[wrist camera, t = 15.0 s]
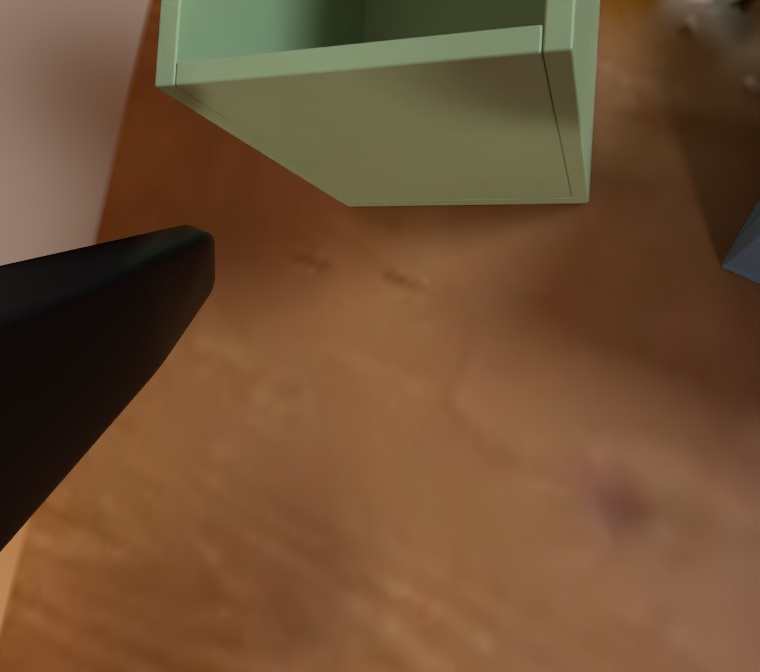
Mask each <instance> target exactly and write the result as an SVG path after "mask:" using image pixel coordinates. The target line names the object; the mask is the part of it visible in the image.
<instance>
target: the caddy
mask: <svg viewBox="0 0 760 672" xmlns="http://www.w3.org/2000/svg"><path fill="white" fill-rule="evenodd" d="M599 15H600V0H161V9H160V22H159V36H158V50H157V63H156V77H155V86H156V88H158V89H160V90H161V91H163V92H164V93H166V94H168V95H169V96H171V97H172V98H174V99H176V100H177V101H179V102H180V103H182V104H184V105H185V106H187V107H188V108H190V109H192V110H193V111H195V112H197V113H198V114H200V115H201V116H203V117H205V118H206V119H208V120H209V121H211V122H213V123H214V124H216V125H217V126H219V127H221V128H222V129H224V130H225V131H227V132H229V133H230V134H232V135H234V136H235V137H237V138H238V139H240V140H242V141H243V142H245V143H246V144H248V145H250V146H251V147H253V148H254V149H256V150H258V151H259V152H261V153H262V154H264V155H266V156H267V157H269V158H270V159H272V160H274V161H275V162H277V163H279V164H280V165H282V166H283V167H285V168H287V169H288V170H290V171H291V172H293V173H295V174H296V175H298V176H299V177H301V178H303V179H304V180H306V181H307V182H309V183H311V184H312V185H314V186H316V187H317V188H319V189H320V190H322V191H324V192H325V193H327V194H328V195H330V196H332V197H333V198H335V199H336V200H338V201H340V202H342V203H344V204H345V205H347V206H349V207H354V206H421V205H489V204H557V203H587V202H589V195H590V177H591V159H592V141H593V123H594V105H595V87H596V69H597V51H598V33H599Z"/></svg>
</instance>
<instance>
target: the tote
mask: <svg viewBox="0 0 760 672" xmlns="http://www.w3.org/2000/svg"><path fill="white" fill-rule="evenodd" d="M721 267H722V268H724V269H727V270H729V271H731V272H733V273H736V274H738V275H740V276H742V277H745V278H747V279H749V280H751V281H754V282H756V283H758V284H760V198H759V200H758V202H757V203H756V205H755V207H754V209H753V210H752V212H751V214H750V216H749V217H748V219H747V221H746V222H745V224H744V226H743V228H742V229H741V231H740V233H739V234H738V236H737V238H736V240H735V241H734V243H733V245H732V247H731V248H730V250H729V252H728V253H727V255H726V257H725V259H724V260H723V262H722V264H721Z"/></svg>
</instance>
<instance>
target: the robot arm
mask: <svg viewBox="0 0 760 672" xmlns="http://www.w3.org/2000/svg"><path fill="white" fill-rule="evenodd" d="M214 281H215V251H214V239H213V237H212V235H211V234H210V233H208V232H206V231H203V230H201V229H198V228H195V227H192V226H189V225H182V226H178V227H173V228H169V229H164V230H160V231H155V232H151V233H146V234H142V235H137V236H133V237H128V238H124V239H119V240H115V241H110V242H106V243H101V244H97V245H92V246H88V247H83V248H78V249H74V250H70V251H65V252H60V253H56V254H51V255H47V256H43V257H38V258H33V259H29V260H24V261H20V262H16V263H11V264H6V265H2V266H0V552H1V550H2V549H3V548H4V547H5V546H6V545H7V544H8V542H9V541H10V540H11V539H12V538H13V537H14V535H15V534H16V533H17V532H18V531H19V529H21V527H22V526H23V525H24V524H25V523H26V522H27V521H28V519H29V518H30V517H31V516H32V515H33V514H34V512H35V511H36V510H37V509H38V508H39V507H40V506H41V504H42V503H43V502H44V501H45V500H46V499H47V497H48V496H49V495H50V494H51V493H52V492H53V491H54V489H55V488H56V487H57V486H58V485H59V484H60V482H61V481H62V480H63V479H64V478H65V477H66V476H67V474H68V473H69V472H70V471H71V470H72V469H73V467H74V466H75V465H76V464H77V463H78V462H79V460H80V459H81V458H82V457H83V456H84V455H85V454H86V452H87V451H88V450H89V449H90V448H91V447H92V445H93V444H94V443H95V442H96V441H97V440H98V439H99V437H100V436H101V435H102V434H103V433H104V432H105V430H106V429H107V428H108V427H109V426H110V425H111V424H112V422H113V421H114V420H115V419H116V418H117V417H118V415H119V414H120V413H121V412H122V411H123V410H124V409H125V407H126V406H127V405H128V404H129V403H130V402H131V400H132V399H133V398H134V397H135V396H136V395H137V394H138V392H139V391H140V390H141V389H142V388H143V387H144V385H145V384H146V383H147V382H148V381H149V380H150V378H151V377H152V376H153V375H154V374H155V372H156V371H157V370H158V369H159V367H160V366H161V365H162V363H163V362H164V361H165V359H166V358H167V357H168V355H169V354H170V352H171V351H172V349H173V348H174V346H175V345H176V343H177V342H178V340H179V339H180V337H181V336H182V335H183V333H184V332H185V330H186V329H187V327H188V326H189V324H190V323H191V321H192V320H193V318H194V317H195V315H196V314H197V313H198V311H199V310H200V308H201V307H202V305H203V304H204V302H205V301H206V299H207V298H208V296H209V295H210V293H211V291H212V289H213V286H214Z"/></svg>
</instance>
